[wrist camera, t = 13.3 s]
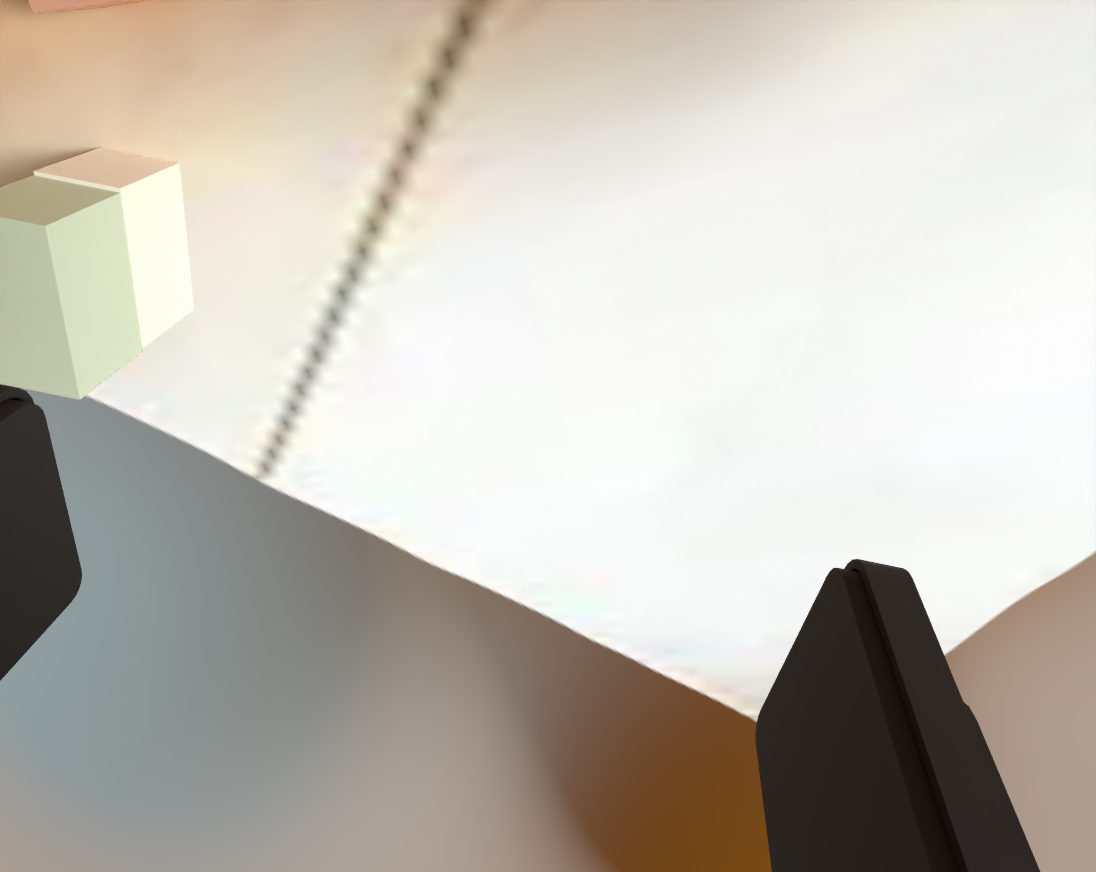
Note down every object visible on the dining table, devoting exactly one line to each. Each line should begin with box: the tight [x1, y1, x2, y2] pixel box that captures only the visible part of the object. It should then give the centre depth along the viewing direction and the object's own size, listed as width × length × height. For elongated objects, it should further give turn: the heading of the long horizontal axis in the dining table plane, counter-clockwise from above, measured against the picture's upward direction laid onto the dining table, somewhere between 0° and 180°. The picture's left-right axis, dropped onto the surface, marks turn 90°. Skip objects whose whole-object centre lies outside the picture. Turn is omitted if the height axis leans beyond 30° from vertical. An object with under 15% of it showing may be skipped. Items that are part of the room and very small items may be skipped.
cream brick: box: [33, 147, 194, 348], centre depth 38 cm, size 8×4×5 cm, turn 171°
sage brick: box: [0, 175, 143, 400], centre depth 34 cm, size 8×4×5 cm, turn 171°
